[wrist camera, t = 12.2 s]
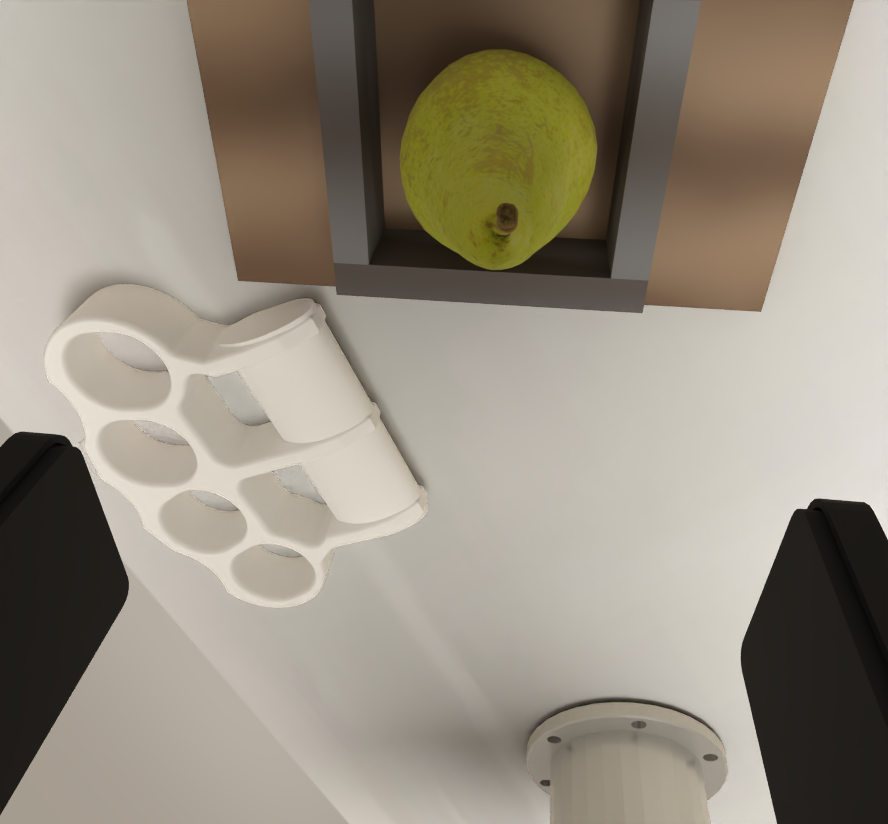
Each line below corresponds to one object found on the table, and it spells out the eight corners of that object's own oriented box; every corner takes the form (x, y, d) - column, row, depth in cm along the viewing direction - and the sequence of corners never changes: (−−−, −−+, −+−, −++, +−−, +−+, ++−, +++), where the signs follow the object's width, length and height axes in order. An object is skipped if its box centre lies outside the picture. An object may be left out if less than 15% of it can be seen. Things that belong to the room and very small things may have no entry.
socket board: (755, 298, 28) (780, 355, 25) (246, 269, 30) (210, 318, 27) (877, -123, 20) (936, -117, 17) (177, -128, 22) (114, -123, 19)
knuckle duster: (457, 528, 38) (225, 577, 43) (284, 215, 29) (11, 321, 34) (450, 578, 36) (203, 625, 40) (256, 251, 26) (-36, 361, 31)
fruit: (442, 224, 27) (379, 430, 17) (396, 53, 24) (290, 191, 14) (603, 193, 25) (632, 398, 16) (578, 6, 22) (597, 125, 13)
